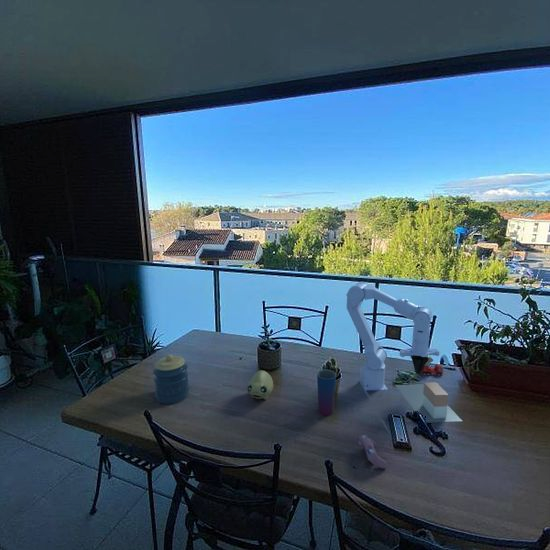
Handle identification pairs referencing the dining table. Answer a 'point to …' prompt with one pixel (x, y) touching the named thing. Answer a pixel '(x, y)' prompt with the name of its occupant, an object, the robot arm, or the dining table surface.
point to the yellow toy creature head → (260, 385)
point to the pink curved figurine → (371, 451)
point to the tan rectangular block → (435, 394)
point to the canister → (171, 379)
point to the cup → (326, 391)
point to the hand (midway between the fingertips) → (417, 372)
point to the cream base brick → (434, 409)
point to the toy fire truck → (432, 369)
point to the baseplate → (415, 400)
